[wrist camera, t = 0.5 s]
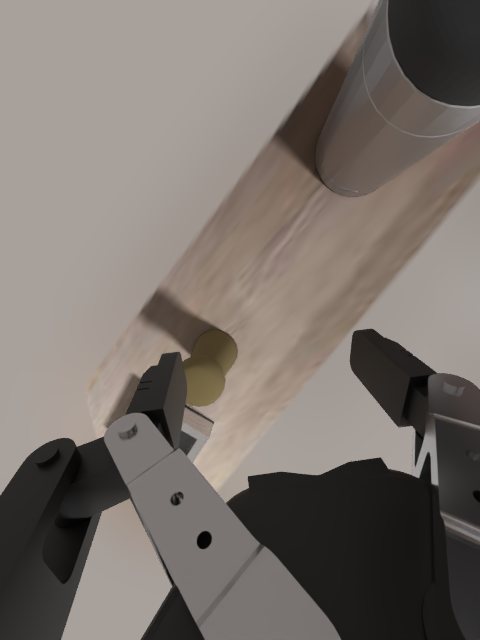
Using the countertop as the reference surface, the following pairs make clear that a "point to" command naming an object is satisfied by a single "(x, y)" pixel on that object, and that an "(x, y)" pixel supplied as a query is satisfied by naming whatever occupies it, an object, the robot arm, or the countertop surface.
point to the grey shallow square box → (194, 433)
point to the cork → (209, 367)
